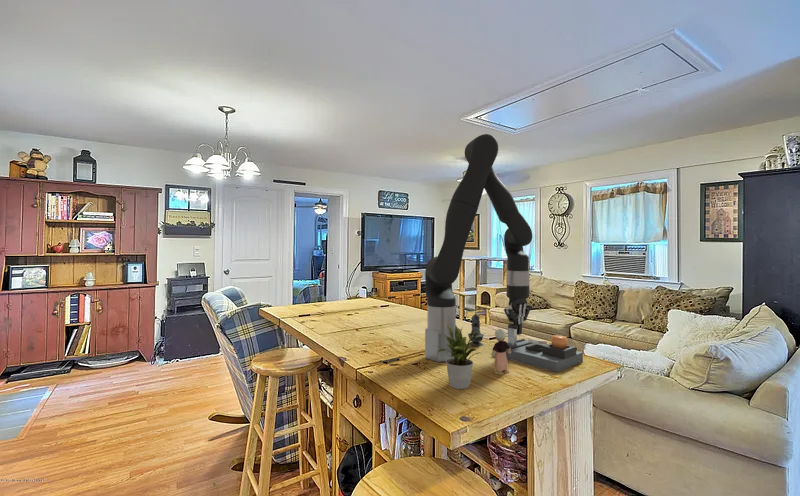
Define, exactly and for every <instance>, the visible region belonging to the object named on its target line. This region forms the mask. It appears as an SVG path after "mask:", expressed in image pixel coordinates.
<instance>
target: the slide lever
mask: <svg viewBox="0 0 800 496" xmlns="http://www.w3.org/2000/svg"><path fill="white" fill-rule="evenodd" d="M517 328H518V326H517V325H516V324H514V323H512V322H509V323H508V324H507V343H508V345H510V346H516V345H517V340H518V335H517Z"/></svg>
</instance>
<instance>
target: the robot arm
mask: <svg viewBox="0 0 800 496" xmlns="http://www.w3.org/2000/svg"><path fill="white" fill-rule="evenodd" d="M498 153H499V144H498V141H497V139H496V137H494V135H492V134H489V133H484V134H480V135H478V136H477V137H474V138H473V139H472V140H471V141H469V143H467V144H466V146H465V147H464V158H465V160H466V162H467V164H468V166H467V169H466V171H465V173H464V176H463V177H462V179H461V181H460V182H459V184H457V185H458V186H457V187H456V189H455V191H454V193H453V194H452V197H451V200H450V203H449V206H448V207H447V208H448V209H447V211H446V216H445V222H444V223H445V226H444V237H443V242H442V245H441V248H440V250H439V253H438V255H437V256H434V257H432V258H430V259H429V260H428V262H427V264H426V266H425V272H424V276H425V277H424V278H425V279H424V280H425V281H424V283H425V296H426V299H427V300H426V302H427V314H426V315H427V319H426V321H427V323H426V324H427V327H426V328H425V329H424V358H425V359H428V360H431V361H433V362H436V363H439V362H446V360H448V359H451V355H450V354H451V353H452V351H451V349H450V347H448V346H447V344H448V343H449V341H448V340H447V337H450V338H451V336H450V333H449V330H448V328H447V326H449V327H450V328H451V330H452V333H453V336H454V339H455V325H456V319H457V317H456V315H457V313H456V308H457V307H456V305H457V301H456V296H455V294H454V291H453V284H454V283H455V281H456V280H457V278H458V277H459V273H460V270H461V265H462V261H463V256H464V253H465V252H464V251H465V247H466V245H467V241H468V240H469V239H468V238H469V236H470V233H471V230H472V227H473V224H474V221H475V218H476V216H477V213H478V210H479V206H480V203H481V199H482V198H483V197H482V196H483V192H484V190H485V192H486V194H487V196H488V198H489V200H490V202H491V204H492V207H493V209H494V211H495V213H496V216H497V218H498V220H499V221H500V222H501V223H503V224H504V225H505V226H507V227H506V228H507V229H506V230H505V232H504V235H503V243H504V244H503V245H504V249H505V254H506V256H507V257H506V259H507V263H506V265H507V269H506V270H507V272H506V297H507V298H509V300H508V307H507V308H506V307H505V308H504V309H503V311H504V313H505V315H506V317H507V320H508V321H509V323H512V324H516V325H517V326H518V328H517V336H520V335H522V334H523V323H524V322H526V321H527V319H528V317H529V314H530V312H531V309H532V306H531V305H528V299H529V298H530V267H529V266H530V263H529V262H530V261H529V256H528V254H526V253H525V251H524V247H525V246H528V245H530V244H531V242H533V241H532V240H533V231H532V228H531V226H530V224H529V223H528V222H527V220H526V219H525V217H524V216H523V215H522V214H521V212H520V211H519V209H518V206H517V204H516V201H515V199H514V197H513V195H512V193H511V192H510V190H509V189H508V187H507V186H506V185H505V184H504V183H503V182H502V181H501V179H500V178H499V177H498V175H497V174H496V172H495V170H494V168H493V166H494V163H495V161H496V158H497V156H498ZM445 324H446V325H447V326H446V325H445ZM456 326H457V325H456ZM432 329H434V330H432ZM437 330H438V331H437ZM441 332H442V333H441ZM438 333H439V334H438ZM442 335H443V336H444V337H445V336H447V337H445V338H444V337H443V336H442ZM451 339H452V338H451ZM446 340H447V341H446ZM449 344H450V343H449ZM433 345H435V346H433ZM438 346H439V347H438ZM440 347H441V348H442V349H446V350H444V351H445V352H446V353H445V352H444V351H440V352H438V353H437V351H438V350H439V349H441V348H440ZM447 350H448V351H447ZM449 351H450V352H451V353H450V352H449ZM452 358H454V357H452Z"/></svg>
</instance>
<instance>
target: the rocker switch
mask: <svg viewBox="0 0 800 496" xmlns="http://www.w3.org/2000/svg"><path fill="white" fill-rule="evenodd" d="M527 340H528V342H532V343H537V344H545V345H547V343H548V342H547V341H546V340H541V339H536V338H528V339H527Z"/></svg>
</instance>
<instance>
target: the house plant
mask: <svg viewBox="0 0 800 496" xmlns="http://www.w3.org/2000/svg"><path fill="white" fill-rule="evenodd" d="M445 325H446V324H445ZM464 325H465V324H463V326H462V328H459V327H458V326H457V325H455V339H454V336H453V333H452V330H451V328H450V327H449V326H447V325H446V326H447V328H448V330H449V333H450V336H451V338H452V339H451V338H450V337H447V336H445V337H447V340H448V341H449V343H450V344H449V343H448V344H447V346H448V347H450V349H451V351H452V353H451V352H450V351H449V352H450V353H451V354H450V355H451V359H448V360H446V361H445V363H446V370H447V375H448V376H447V377H448V383H449V387H451V388H453V389H456V390H457V389H458V390H465V389H469V388H470V385H471V378H472V372H473V367H474V362H473V360H471V358H472V357H474V355H477V354H479V352H476V353H474V354H472V355H470V354H471V353H472V352H475V351H478V349H476V348H470V346H471V345H472V344H469V343H470V342H472V341H471V339H472V338H473V336H474V334H475V333H474V334H473V335H472V337H471V338H470V339H469V340H468V342H467V343H466V341H467V336H463V333H462V331H463V327H464ZM432 330H434V329H432ZM437 331H438V330H437ZM475 332H476V331H475ZM441 333H442V332H441ZM438 334H439V333H438ZM482 334H483V335H485V334H486V333H481V335H482ZM442 336H443V335H442ZM479 336H480V335H479ZM443 337H444V336H443ZM445 337H444V338H445ZM476 338H477V337H476ZM476 338H475V339H476ZM475 339H474V340H475ZM447 340H446V341H447ZM474 340H473V341H474ZM473 344H474V343H473ZM433 346H435V345H433ZM438 347H439V346H438ZM471 347H472V346H471ZM440 348H441V347H440ZM444 350H446V349H442V348H441V349H439V350H438V351H437V353H438V352H440V351H444ZM447 351H448V350H447ZM444 352H445V351H444ZM445 353H446V352H445ZM481 354H482V355H483V353H482V352H480V355H481ZM469 355H470V356H469ZM468 356H469V358H468ZM452 357H454V358H452Z"/></svg>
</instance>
